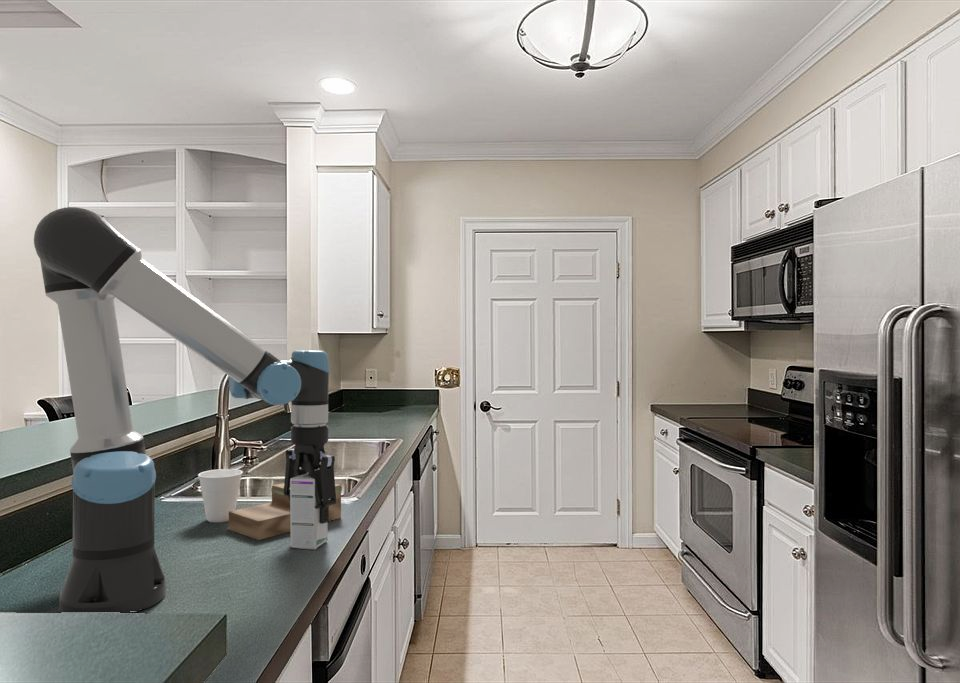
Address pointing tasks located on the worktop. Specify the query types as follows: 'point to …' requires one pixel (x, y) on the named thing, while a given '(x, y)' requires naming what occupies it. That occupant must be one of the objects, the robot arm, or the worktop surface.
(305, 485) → the syrup box
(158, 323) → the robot arm
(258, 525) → the step stand
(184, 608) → the worktop surface
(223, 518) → the cup
